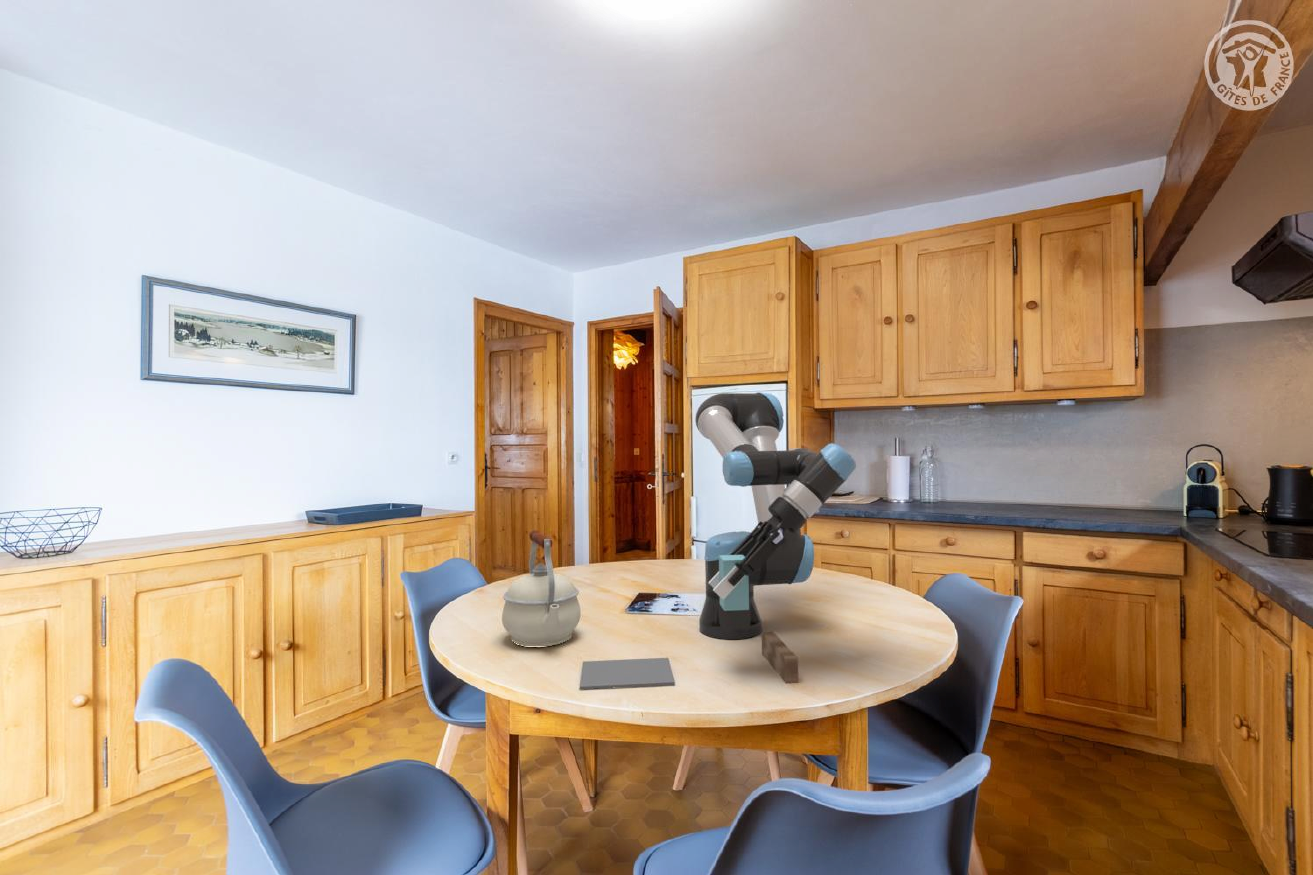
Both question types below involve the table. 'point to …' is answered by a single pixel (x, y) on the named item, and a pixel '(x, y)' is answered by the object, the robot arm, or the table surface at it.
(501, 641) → the table surface
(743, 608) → the block
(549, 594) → the kettle
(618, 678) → the mat
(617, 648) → the table surface
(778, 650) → the rail
